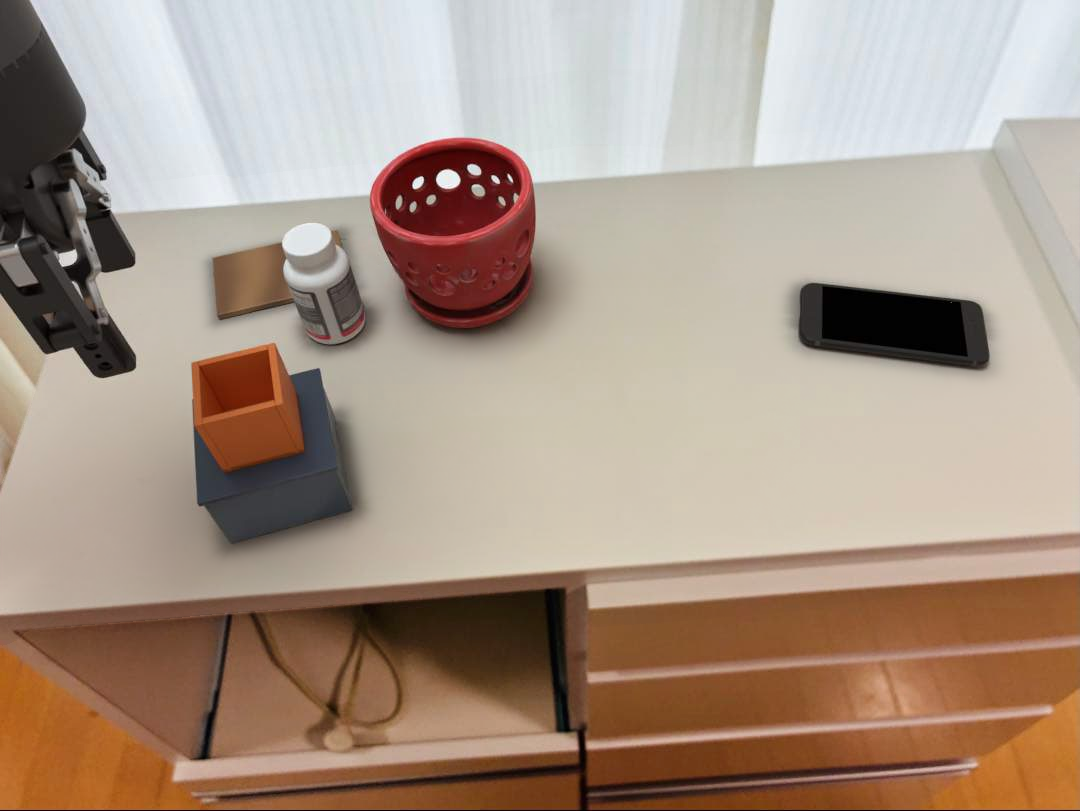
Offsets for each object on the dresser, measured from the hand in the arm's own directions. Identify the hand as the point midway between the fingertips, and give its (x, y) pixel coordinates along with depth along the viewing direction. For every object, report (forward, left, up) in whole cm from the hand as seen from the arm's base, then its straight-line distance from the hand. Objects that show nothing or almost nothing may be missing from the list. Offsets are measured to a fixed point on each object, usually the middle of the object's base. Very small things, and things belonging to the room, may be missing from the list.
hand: (118, 315), depth 46 cm
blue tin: (+4, +1, -20) cm, 20 cm away
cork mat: (+6, +24, -20) cm, 31 cm away
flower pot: (+22, +16, -20) cm, 34 cm away
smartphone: (+55, 0, -20) cm, 58 cm away
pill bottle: (+10, +16, -20) cm, 27 cm away
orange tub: (+4, +1, -14) cm, 14 cm away
